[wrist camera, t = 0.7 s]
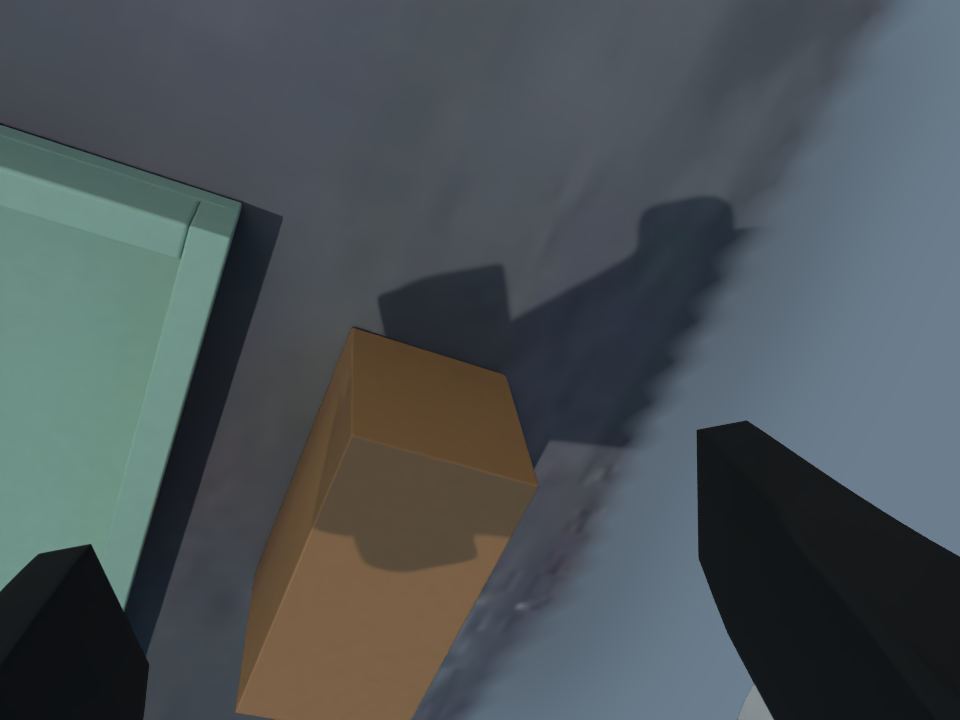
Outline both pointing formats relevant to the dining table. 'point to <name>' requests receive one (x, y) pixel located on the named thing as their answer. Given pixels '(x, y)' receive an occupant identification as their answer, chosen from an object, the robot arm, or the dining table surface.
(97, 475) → the tray
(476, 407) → the block
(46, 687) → the robot arm
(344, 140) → the dining table surface
